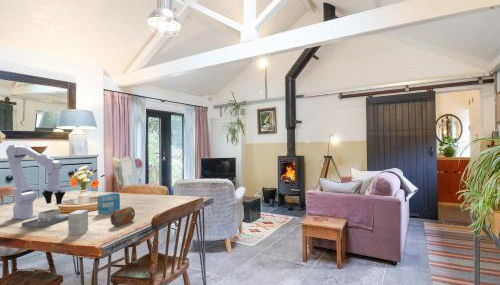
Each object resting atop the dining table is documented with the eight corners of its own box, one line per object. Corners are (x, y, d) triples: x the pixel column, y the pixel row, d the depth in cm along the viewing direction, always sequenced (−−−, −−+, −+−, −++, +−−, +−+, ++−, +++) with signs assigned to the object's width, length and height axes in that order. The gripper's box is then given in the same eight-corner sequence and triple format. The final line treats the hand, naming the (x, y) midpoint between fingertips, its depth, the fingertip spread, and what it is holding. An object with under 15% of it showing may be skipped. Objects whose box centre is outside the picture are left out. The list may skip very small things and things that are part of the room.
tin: (114, 228, 142) (113, 212, 142) (109, 227, 143) (109, 211, 143) (135, 220, 156) (135, 205, 156) (131, 219, 157) (130, 205, 157)
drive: (38, 222, 150) (38, 212, 150) (53, 217, 159) (53, 209, 159) (44, 222, 149) (44, 213, 149) (59, 218, 158) (59, 209, 158)
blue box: (101, 215, 167) (101, 196, 167) (97, 214, 169) (97, 195, 169) (120, 211, 177) (119, 193, 177) (116, 210, 179) (116, 192, 179)
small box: (77, 230, 138) (76, 209, 138) (88, 230, 139) (88, 209, 139) (67, 235, 130) (67, 214, 130) (80, 235, 131) (79, 213, 131)
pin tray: (21, 226, 146) (21, 220, 146) (56, 216, 166) (56, 211, 166) (40, 228, 143) (40, 222, 143) (73, 217, 162) (73, 212, 162)
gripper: (37, 181, 159) (37, 204, 159) (56, 182, 156) (56, 206, 156) (49, 179, 166) (49, 202, 166) (68, 180, 162) (68, 203, 162)
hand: (53, 203), depth 161 cm, fingers open, 7 cm apart
